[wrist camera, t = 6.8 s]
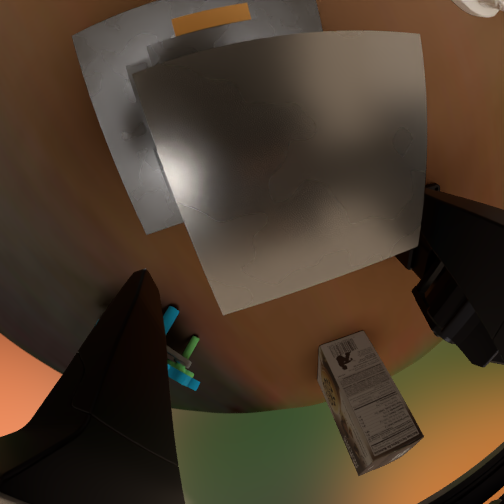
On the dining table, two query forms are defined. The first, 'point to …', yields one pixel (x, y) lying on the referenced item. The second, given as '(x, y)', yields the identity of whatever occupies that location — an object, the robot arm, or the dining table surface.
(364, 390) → the coffee box
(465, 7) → the decorative container
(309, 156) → the block
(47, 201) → the dining table surface
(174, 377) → the blue angular plastic piece
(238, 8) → the stand
